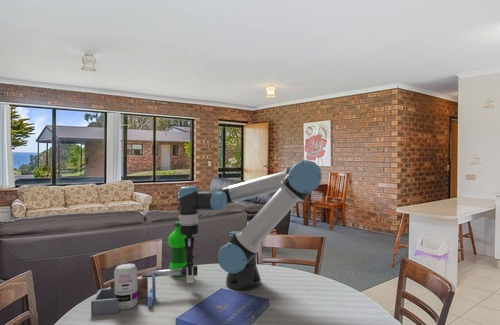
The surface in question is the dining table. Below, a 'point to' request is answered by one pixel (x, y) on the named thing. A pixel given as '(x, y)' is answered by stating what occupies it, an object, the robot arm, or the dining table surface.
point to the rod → (163, 273)
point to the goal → (104, 302)
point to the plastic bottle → (177, 248)
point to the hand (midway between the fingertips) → (190, 278)
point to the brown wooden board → (141, 287)
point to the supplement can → (126, 285)
